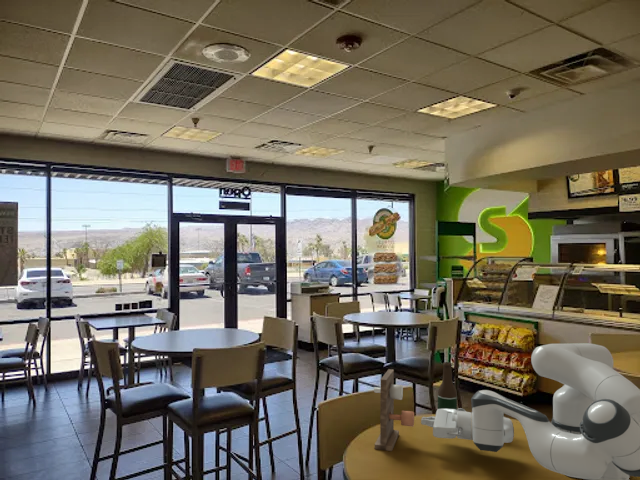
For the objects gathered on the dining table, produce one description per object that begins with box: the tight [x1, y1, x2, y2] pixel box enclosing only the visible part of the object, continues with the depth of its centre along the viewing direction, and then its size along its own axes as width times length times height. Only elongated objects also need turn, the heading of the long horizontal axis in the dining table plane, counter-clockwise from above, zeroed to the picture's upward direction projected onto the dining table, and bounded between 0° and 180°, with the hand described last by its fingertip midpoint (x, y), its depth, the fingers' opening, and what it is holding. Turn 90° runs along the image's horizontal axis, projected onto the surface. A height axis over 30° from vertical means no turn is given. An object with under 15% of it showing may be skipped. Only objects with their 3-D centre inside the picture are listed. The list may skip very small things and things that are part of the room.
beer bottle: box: [437, 361, 458, 410], centre depth 193 cm, size 8×8×24 cm
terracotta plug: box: [389, 410, 415, 427], centre depth 172 cm, size 10×5×5 cm, turn 72°
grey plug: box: [373, 384, 404, 401], centre depth 173 cm, size 10×5×5 cm, turn 72°
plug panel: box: [374, 368, 400, 452], centre depth 173 cm, size 6×16×24 cm, turn 162°
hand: (421, 420), depth 169 cm, fingers closed
